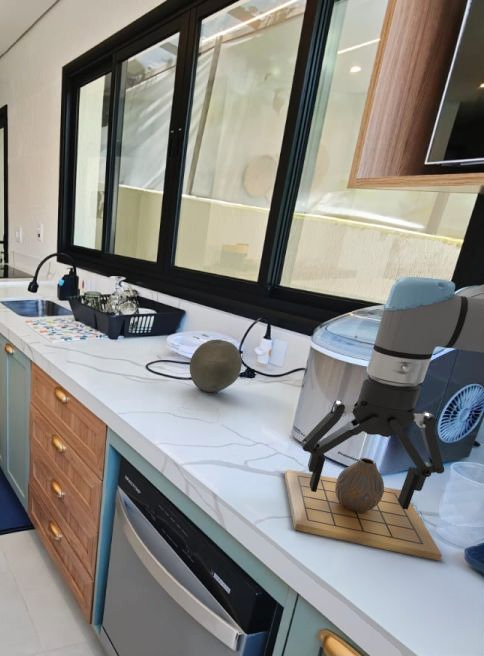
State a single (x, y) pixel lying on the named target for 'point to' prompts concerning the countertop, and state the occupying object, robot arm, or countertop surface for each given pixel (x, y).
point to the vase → (360, 486)
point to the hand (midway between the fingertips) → (356, 496)
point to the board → (358, 518)
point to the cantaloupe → (215, 365)
